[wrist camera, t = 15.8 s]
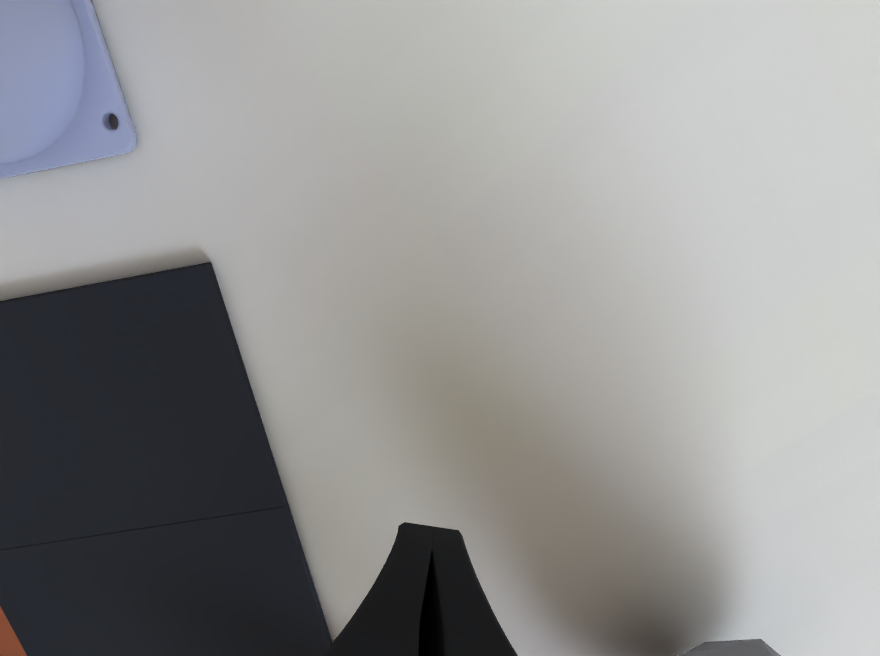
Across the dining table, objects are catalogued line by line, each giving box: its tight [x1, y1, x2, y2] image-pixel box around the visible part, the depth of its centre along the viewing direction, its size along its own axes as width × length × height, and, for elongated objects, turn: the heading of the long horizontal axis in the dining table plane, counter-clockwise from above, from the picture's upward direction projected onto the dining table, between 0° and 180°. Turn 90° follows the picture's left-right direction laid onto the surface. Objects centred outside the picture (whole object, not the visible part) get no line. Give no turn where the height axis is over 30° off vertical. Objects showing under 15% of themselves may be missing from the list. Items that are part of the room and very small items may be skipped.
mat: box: [0, 262, 332, 656], centre depth 24 cm, size 20×24×1 cm
